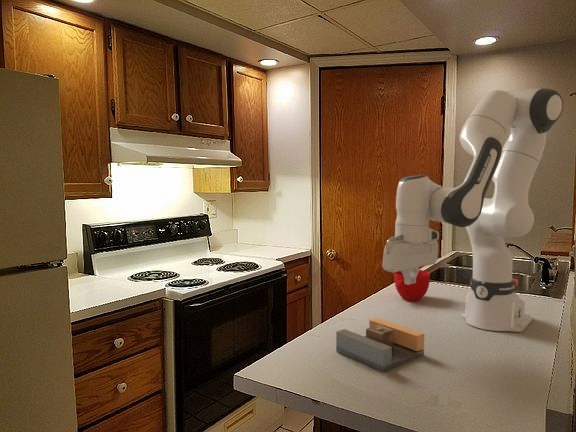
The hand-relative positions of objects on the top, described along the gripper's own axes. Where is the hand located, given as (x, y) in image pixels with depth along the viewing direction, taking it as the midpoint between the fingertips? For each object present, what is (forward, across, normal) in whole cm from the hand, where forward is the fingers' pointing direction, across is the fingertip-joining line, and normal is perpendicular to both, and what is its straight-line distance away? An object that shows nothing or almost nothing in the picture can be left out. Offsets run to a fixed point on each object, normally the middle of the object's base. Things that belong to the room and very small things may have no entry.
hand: (410, 283), depth 120 cm
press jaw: (+15, -6, 0) cm, 16 cm away
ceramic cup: (+16, +34, +25) cm, 45 cm away
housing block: (+15, -12, 0) cm, 20 cm away
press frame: (+17, -12, 0) cm, 21 cm away
